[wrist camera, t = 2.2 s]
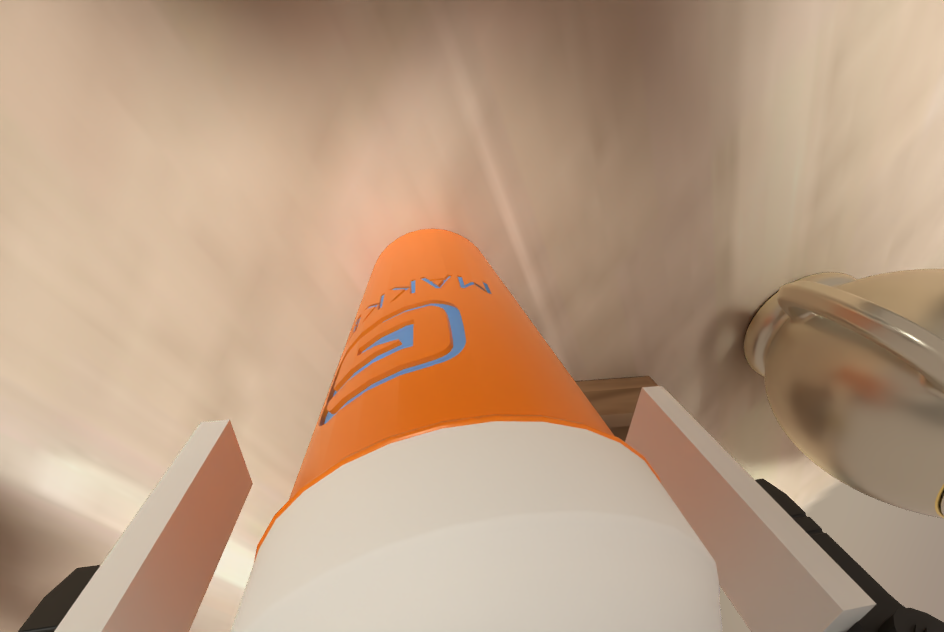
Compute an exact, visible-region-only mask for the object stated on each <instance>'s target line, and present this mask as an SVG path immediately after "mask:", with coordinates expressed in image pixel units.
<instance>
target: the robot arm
mask: <svg viewBox="0 0 944 632" xmlns="http://www.w3.org/2000/svg"><path fill="white" fill-rule="evenodd" d="M625 443H627V444H628V445H629V446H631V447H632V448H634V449H635V450H636V451H638V452H639V453H640V454H642V455H643V456H644V457H645V458H646V460H647V461H648V462H649V464H650V465H651V467H652V468H653V469H654V471H655V472H656V473H657V475H658V476H659V478H660V481H661V484H662V486H663V487H664V489H665V490H666V491H667V493H668V494H669V496H670V497H671V499H672V500H673V501H674V503H675V504H676V506H677V507H678V509H679V510H680V512H681V513H682V514H683V516H684V517H685V519H686V520H687V522H688V523H689V524H690V526H691V527H692V529H693V530H694V532H695V533H696V534H697V536H698V537H699V539H700V540H701V542H702V543H703V545H704V546H705V547H706V549H707V550H708V552H709V553H710V555H711V556H712V557H713V559H714V560H715V562H716V567H717V573H718V579H719V585H720V587H721V588H722V590H723V591H724V592H725V594H726V595H727V597H728V598H729V600H730V601H731V602H732V604H733V606H734V607H735V609H736V610H737V612H738V613H739V615H740V616H741V617H742V619H743V620H744V622H745V623H746V625H747V626H748V628H749V629H750V630H751V632H944V622H942V621H940V620H938V619H936V618H935V617H933V616H931V615H929V614H927V613H925V612H921V611H918V610H915V609H912V608H905V607H904V606H902V605H901V604H900V603H899V602H898V601H896V600H895V599H894V598H893V597H892V596H891V595H889V594H888V593H887V592H886V591H885V590H884V589H883V588H882V587H881V586H880V585H879V584H878V583H877V582H876V581H875V580H874V579H873V578H872V577H871V576H870V575H869V574H868V573H867V572H866V571H865V570H864V569H863V568H862V567H861V566H860V565H858V563H857V562H855V561H854V560H853V559H852V558H851V557H850V556H849V555H848V554H847V553H846V552H845V551H844V550H843V549H842V548H841V547H840V546H839V545H838V544H837V543H836V542H835V541H834V540H833V539H832V538H831V537H830V536H829V535H828V534H827V533H823V532H822V529H821V528H820V527H819V526H818V525H817V524H816V523H815V522H814V521H813V520H812V519H811V518H810V517H807V516H806V514H805V512H804V511H803V510H802V509H801V508H800V507H799V506H798V505H797V504H796V503H795V502H794V501H793V500H792V499H791V498H790V497H789V496H787V495H786V494H785V493H784V492H782V491H781V490H779V489H778V488H776V487H775V486H773V485H772V484H770V483H769V482H767V481H766V480H764V479H758V480H754V479H753V478H752V477H751V476H750V475H749V474H748V473H747V472H746V471H745V470H744V469H743V468H742V467H741V466H740V465H739V464H738V463H737V462H736V461H735V460H734V458H733V457H732V456H731V455H730V454H729V453H728V452H727V451H726V450H725V449H724V448H723V447H722V446H721V445H720V444H719V443H718V442H717V441H716V440H715V439H714V438H713V437H712V436H711V435H710V434H709V433H708V432H707V431H706V430H705V429H704V428H703V427H702V426H701V425H700V424H699V423H698V422H697V421H696V420H695V419H694V418H693V417H692V416H691V415H690V414H689V413H688V412H687V411H686V410H685V409H684V408H683V407H682V406H681V405H680V404H679V403H678V402H677V401H676V399H675V398H674V397H673V396H672V395H671V394H670V393H669V392H668V391H667V390H666V389H665V388H664V387H663V386H653V387H642V389H641V392H640V395H639V399H638V402H637V405H636V408H635V411H634V415H633V418H632V421H631V424H630V428H629V431H628V434H627V437H626V440H625ZM251 486H252V481H251V478H250V475H249V472H248V470H247V467H246V464H245V461H244V458H243V456H242V453H241V450H240V447H239V444H238V442H237V439H236V436H235V433H234V430H233V428H232V425H231V422H230V420H219V421H206V422H200V424H199V425H198V426H197V428H196V429H195V431H194V432H193V434H192V435H191V436H190V438H189V439H188V441H187V442H186V444H185V445H184V447H183V448H182V449H181V451H180V452H179V454H178V455H177V457H176V458H175V459H174V461H173V462H172V464H171V465H170V467H169V468H168V469H167V471H166V472H165V474H164V475H163V477H162V478H161V479H160V481H159V482H158V484H157V485H156V487H155V488H154V489H153V491H152V492H151V494H150V495H149V497H148V498H147V499H146V501H145V502H144V504H143V505H142V507H141V508H140V509H139V511H138V512H137V514H136V515H135V517H134V518H133V519H132V521H131V522H130V524H129V525H128V527H127V528H126V530H125V531H124V532H123V534H122V535H121V537H120V538H119V540H118V541H117V542H116V544H115V545H114V547H113V548H112V550H111V551H110V552H109V554H108V555H107V557H106V558H105V560H104V561H103V562H102V564H101V565H97V566H90V567H82V568H77V569H76V570H74V571H73V572H72V573H71V574H70V575H69V576H68V577H67V578H66V579H64V580H63V581H62V582H61V583H60V584H59V585H58V586H57V587H55V588H54V589H53V590H52V591H51V592H50V593H49V594H48V595H46V596H45V597H44V599H43V600H42V601H41V602H40V604H39V605H38V606H37V608H36V609H35V610H34V611H33V613H32V614H31V615H30V617H29V618H28V619H27V621H26V622H25V623H24V624H23V626H22V627H21V628H20V630H19V631H18V632H189V630H190V627H191V625H192V623H193V620H194V618H195V616H196V614H197V611H198V609H199V607H200V604H201V602H202V600H203V597H204V595H205V593H206V590H207V588H208V586H209V583H210V581H211V579H212V577H213V574H214V572H215V570H216V567H217V565H218V563H219V560H220V558H221V556H222V553H223V551H224V549H225V546H226V544H227V542H228V540H229V537H230V535H231V533H232V530H233V528H234V526H235V523H236V521H237V519H238V516H239V514H240V512H241V509H242V507H243V505H244V503H245V500H246V498H247V496H248V493H249V491H250V489H251Z"/></svg>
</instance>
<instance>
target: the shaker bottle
mask: <svg viewBox="0 0 944 632" xmlns="http://www.w3.org/2000/svg"><path fill="white" fill-rule="evenodd" d="M719 594H720V585H719V579H718V573H717V567H716V562H715V560H714V559H713V557H712V556H711V555H710V553H709V552H708V550H707V549H706V547H705V546H704V545H703V543H702V542H701V540H700V539H699V537H698V536H697V534H696V533H695V532H694V530H693V529H692V527H691V526H690V524H689V523H688V522H687V520H686V519H685V517H684V516H683V514H682V513H681V512H680V510H679V509H678V507H677V506H676V504H675V503H674V501H673V500H672V499H671V497H670V496H669V494H668V493H667V491H666V490H665V489H664V487H663V486H662V484H661V481H660V478H659V476H658V475H657V473H656V472H655V471H654V469H653V468H652V467H651V465H650V464H649V462H648V461H647V460H646V458H645V457H644V456H643V455H642V454H640V453H639V452H638V451H636V450H635V449H634V448H632V447H631V446H629V445H628V444H627V443H625V442H624V441H623V440H621V439H620V438H618V437H616V436H614V434H613V433H612V432H611V430H610V429H609V428H608V426H607V425H606V423H605V422H604V421H603V419H602V418H601V417H600V415H599V414H598V412H597V411H596V410H595V408H594V407H593V406H592V404H591V403H590V402H589V400H588V399H587V397H586V396H585V395H584V393H583V392H582V391H581V389H580V388H579V386H578V385H577V384H576V382H575V381H574V380H573V378H572V377H571V375H570V374H569V373H568V371H567V370H566V369H565V367H564V366H563V365H562V363H561V362H560V360H559V359H558V358H557V356H556V355H555V354H554V352H553V351H552V349H551V348H550V347H549V345H548V344H547V343H546V341H545V340H544V338H543V337H542V336H541V334H540V333H539V332H538V330H537V329H536V328H535V326H534V325H533V323H532V322H531V321H530V319H529V318H528V317H527V315H526V314H525V312H524V311H523V310H522V308H521V307H520V306H519V304H518V303H517V301H516V300H515V299H514V297H513V296H512V295H511V293H510V292H509V291H508V289H507V288H506V286H505V285H504V284H503V282H502V281H501V280H500V278H499V277H498V275H497V274H496V273H495V271H494V270H493V269H492V267H491V266H490V264H489V263H488V262H487V260H486V259H485V258H484V256H483V255H482V254H481V252H480V251H479V250H478V248H477V247H476V246H475V245H473V244H472V243H471V242H470V241H469V240H467V239H466V238H464V237H462V236H460V235H459V234H456V233H453V232H450V231H447V230H440V229H423V230H418V231H414V232H410V233H408V234H406V235H404V236H402V237H400V238H398V239H396V240H395V241H394V242H392V243H391V244H390V245H389V246H387V248H386V249H385V250H384V251H383V252H382V254H381V255H380V256H379V258H378V260H377V262H376V264H375V266H374V269H373V271H372V274H371V277H370V280H369V282H368V285H367V288H366V290H365V293H364V296H363V299H362V301H361V304H360V307H359V310H358V312H357V315H356V318H355V321H354V323H353V326H352V329H351V332H350V334H349V338H348V340H347V343H346V346H345V349H344V351H343V353H342V356H341V359H340V362H339V364H338V367H337V370H336V373H335V375H334V378H333V381H332V383H331V386H330V389H329V392H328V394H327V397H326V400H325V403H324V405H323V408H322V411H321V414H320V416H319V419H318V422H317V425H316V427H315V430H314V433H313V435H312V438H311V441H310V444H309V446H308V449H307V452H306V455H305V457H304V460H303V463H302V466H301V468H300V471H299V474H298V476H297V479H296V482H295V485H294V487H293V490H292V493H291V496H290V498H289V501H288V502H287V503H286V504H285V505H284V506H283V507H282V508H281V509H280V510H279V511H278V512H277V513H276V514H275V515H274V517H273V519H272V521H271V522H270V524H269V526H268V528H267V529H266V531H265V533H264V535H263V537H262V538H261V540H260V542H259V544H258V546H257V550H256V555H255V561H254V565H253V568H252V571H251V574H250V577H249V579H248V582H247V585H246V588H245V591H244V594H243V597H242V600H241V603H240V606H239V608H238V611H237V614H236V617H235V620H234V623H233V626H232V629H231V632H722V620H721V610H720V602H719Z"/></svg>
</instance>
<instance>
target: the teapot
mask: <svg viewBox="0 0 944 632" xmlns="http://www.w3.org/2000/svg"><path fill="white" fill-rule="evenodd" d="M744 353H745V357H746V360H747V362H748V364H749V365H750V366H751V368H752V369H753V370H754V371H756V372H757V373H758V374H760V375H762V376H764V377H765V388H766V393H767V397H768V401H769V404H770V406H771V409H772V411H773V413H774V415H775V417H776V419H777V421H778V423H779V424H780V426H781V428H782V429H783V430H784V432H785V433H786V435H787V436H788V437H789V438H790V440H791V441H792V442H793V443H794V444H795V445H796V446H797V447H798V449H799V450H800V451H801V452H802V453H803V454H805V455H806V456H807V457H808V458H809V459H810V460H811V461H812V462H814V463H815V464H816V465H817V466H819V467H820V468H821V469H823V470H824V471H825V472H827V473H828V474H830V475H831V476H833V477H834V478H836V479H838V480H839V481H841V482H843V483H844V484H846V485H848V486H850V487H852V488H853V489H855V490H857V491H859V492H861V493H864V494H866V495H868V496H870V497H873V498H875V499H877V500H880V501H882V502H885V503H888V504H890V505H893V506H896V507H899V508H902V509H905V510H909V511H913V512H916V513H920V514H924V515H928V516H933V517H938V518H943V519H944V269H918V270H905V271H897V272H890V273H884V274H879V275H874V276H869V277H865V278H862V279H856V278H854V277H852V276H850V275H847V274H843V273H836V272H826V273H818V274H814V275H810V276H807V277H804V278H801V279H799V280H797V281H794V282H791V283H788V284H785V285H783V286H781V287H780V289H779V291H778V292H777V293H776V294H775V295H773V296H772V297H771V298H770V299H769V300H768V301H767V302H766V303H765V304H764V305H763V306H762V307H761V308H760V310H759V311H758V312H757V313H756V315H755V316H754V318H753V320H752V321H751V323H750V325H749V327H748V329H747V332H746V336H745V340H744Z"/></svg>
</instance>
